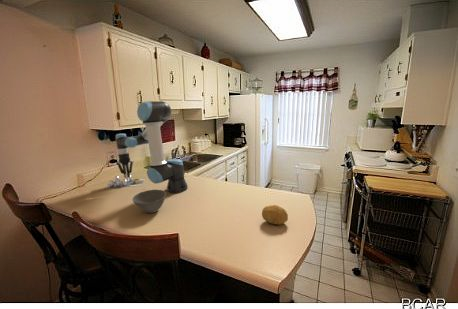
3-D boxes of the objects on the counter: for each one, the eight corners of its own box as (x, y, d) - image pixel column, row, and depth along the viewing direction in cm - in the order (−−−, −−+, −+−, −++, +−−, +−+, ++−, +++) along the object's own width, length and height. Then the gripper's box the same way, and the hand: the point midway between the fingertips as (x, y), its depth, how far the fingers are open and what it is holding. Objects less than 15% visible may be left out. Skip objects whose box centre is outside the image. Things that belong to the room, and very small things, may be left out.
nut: (140, 181, 180) (140, 178, 179) (138, 183, 175) (138, 180, 174) (135, 181, 180) (134, 178, 179) (133, 184, 175) (132, 180, 174)
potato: (285, 213, 104) (288, 203, 112) (258, 210, 110) (263, 200, 118) (286, 229, 107) (289, 219, 115) (260, 225, 113) (265, 215, 121)
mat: (145, 180, 186) (145, 179, 185) (140, 186, 171) (140, 185, 171) (112, 182, 183) (112, 181, 183) (104, 189, 168) (104, 188, 168)
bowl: (134, 207, 136) (132, 193, 134) (165, 201, 143) (163, 187, 141) (134, 222, 119) (132, 205, 117) (169, 214, 126) (167, 198, 124)
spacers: (132, 180, 184) (131, 174, 183) (126, 186, 170) (125, 180, 169) (116, 181, 182) (115, 175, 181) (109, 187, 169) (108, 181, 168)
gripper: (133, 151, 175) (137, 179, 181) (116, 152, 174) (121, 180, 180) (130, 153, 168) (134, 182, 174) (113, 154, 167) (117, 183, 173)
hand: (127, 181), depth 177 cm, fingers closed
